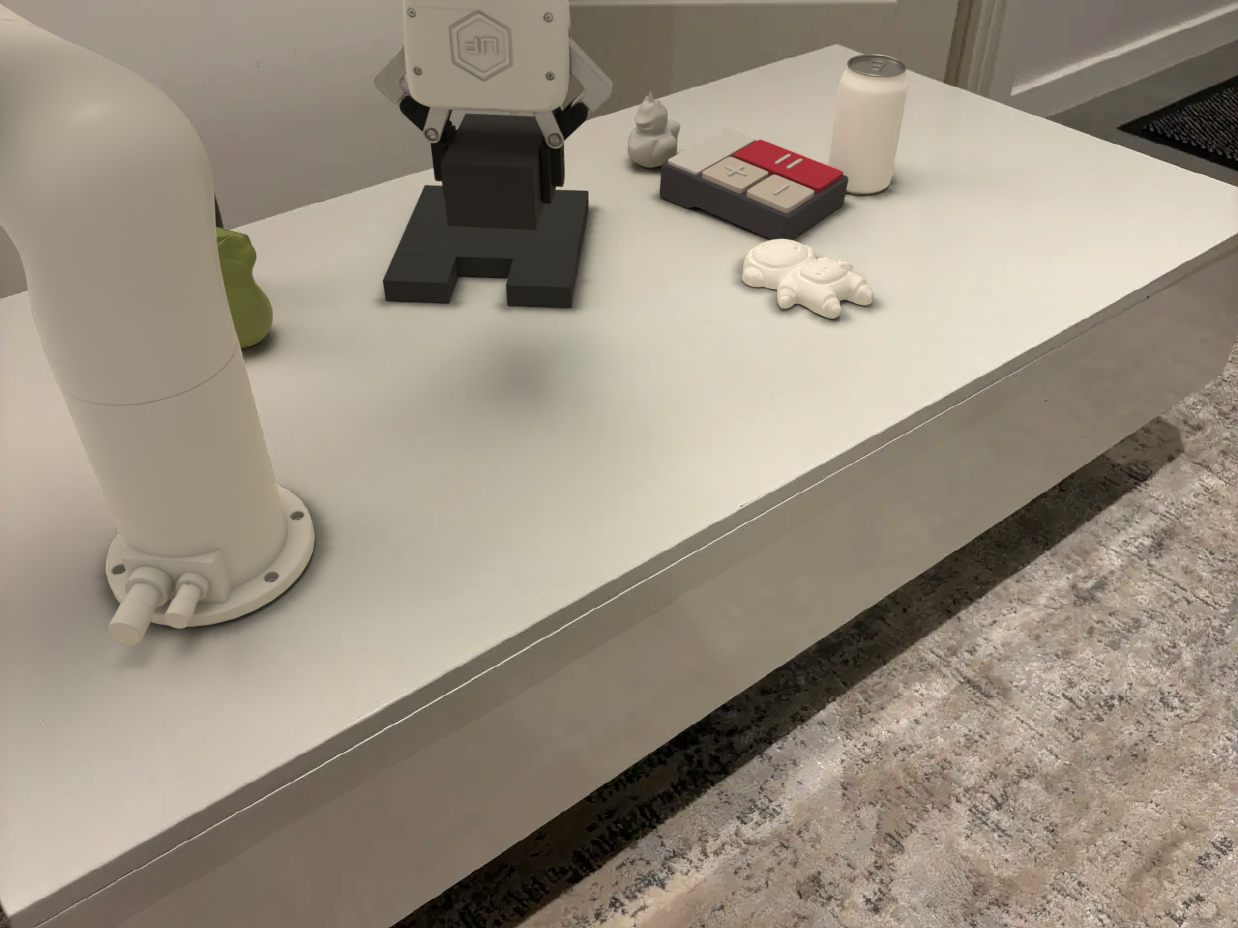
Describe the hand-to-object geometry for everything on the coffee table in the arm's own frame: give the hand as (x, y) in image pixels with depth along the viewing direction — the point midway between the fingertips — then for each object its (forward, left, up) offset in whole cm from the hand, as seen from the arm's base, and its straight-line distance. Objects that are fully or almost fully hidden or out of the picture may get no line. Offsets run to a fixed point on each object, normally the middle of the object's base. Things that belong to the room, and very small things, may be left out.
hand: (501, 190), depth 75 cm
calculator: (+31, -19, -16) cm, 40 cm away
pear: (+3, +22, -16) cm, 28 cm away
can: (+36, -31, -16) cm, 50 cm away
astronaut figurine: (+15, -24, -16) cm, 32 cm away
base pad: (+19, +4, -16) cm, 25 cm away
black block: (+2, 0, -1) cm, 2 cm away
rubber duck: (+39, -10, -16) cm, 43 cm away
